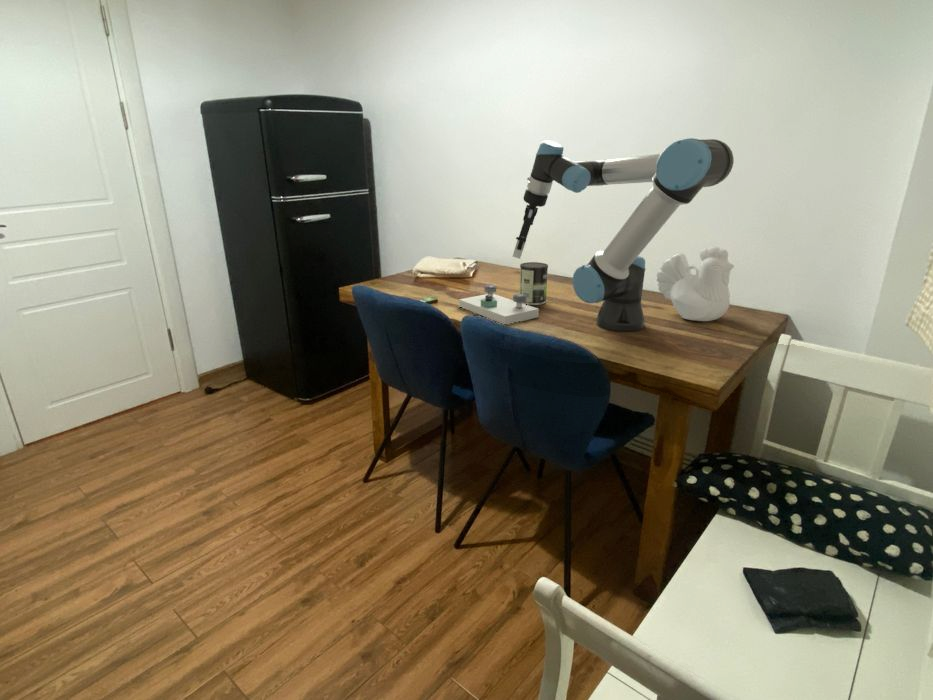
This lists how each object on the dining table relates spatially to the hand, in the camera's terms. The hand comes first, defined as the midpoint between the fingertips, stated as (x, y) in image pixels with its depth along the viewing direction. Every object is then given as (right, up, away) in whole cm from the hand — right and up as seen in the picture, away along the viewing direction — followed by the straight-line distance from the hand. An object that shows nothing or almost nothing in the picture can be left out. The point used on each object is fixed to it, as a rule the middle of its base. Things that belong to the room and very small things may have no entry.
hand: (518, 249), depth 188 cm
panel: (-7, -22, +4) cm, 23 cm away
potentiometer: (-10, -20, +1) cm, 22 cm away
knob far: (-9, -16, +11) cm, 21 cm away
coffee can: (+7, -17, +17) cm, 25 cm away
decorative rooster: (+59, -23, 0) cm, 63 cm away
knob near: (0, -20, -1) cm, 20 cm away
